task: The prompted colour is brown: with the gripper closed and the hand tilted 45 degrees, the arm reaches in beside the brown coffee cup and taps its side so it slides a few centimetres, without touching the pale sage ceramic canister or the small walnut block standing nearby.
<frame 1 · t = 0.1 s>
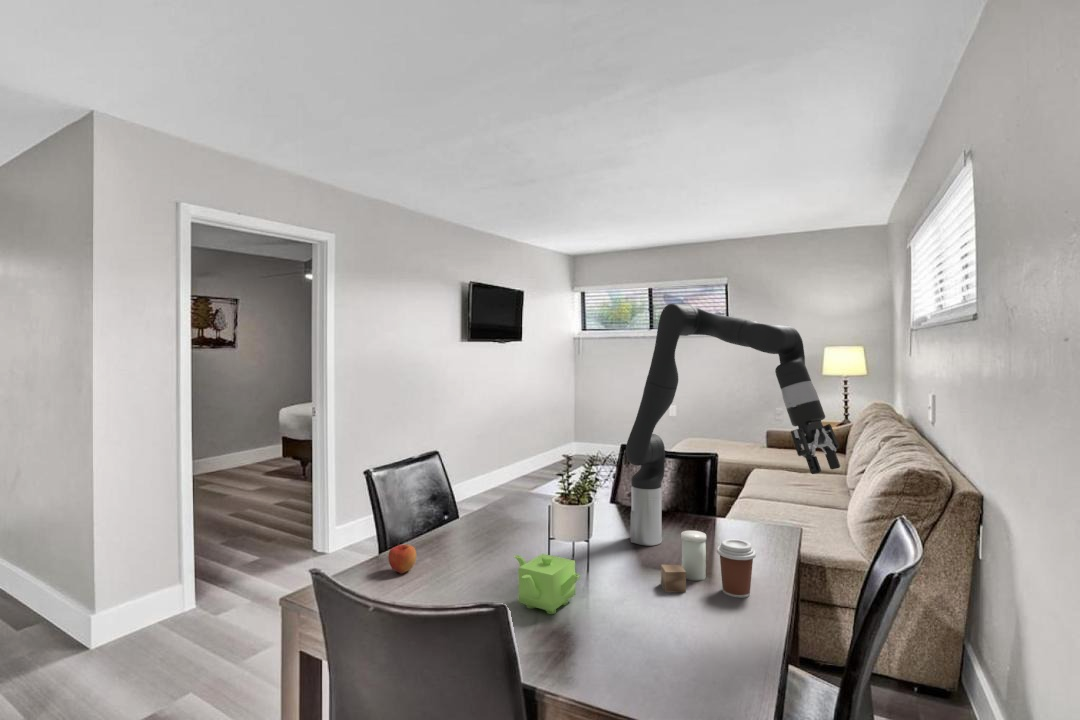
hand: (826, 471, 131), 31 cm above the table, tool tilted 20°, fingers open, 8 cm apart
coffee cup: (736, 592, 139), on the table
apple: (402, 572, 153), on the table
kettle: (544, 605, 133), on the table
canister: (693, 575, 150), on the table
walnut block: (673, 588, 142), on the table
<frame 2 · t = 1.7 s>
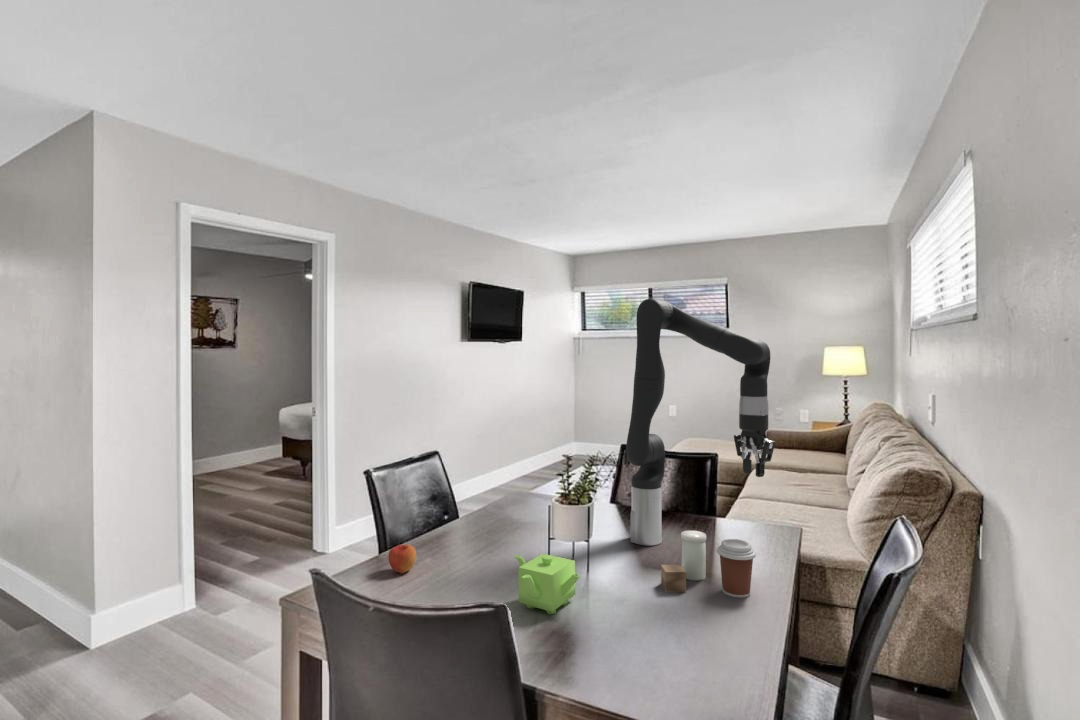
hand: (753, 474, 156), 25 cm above the table, tool pointing down, fingers open, 4 cm apart
nothing on the table moved.
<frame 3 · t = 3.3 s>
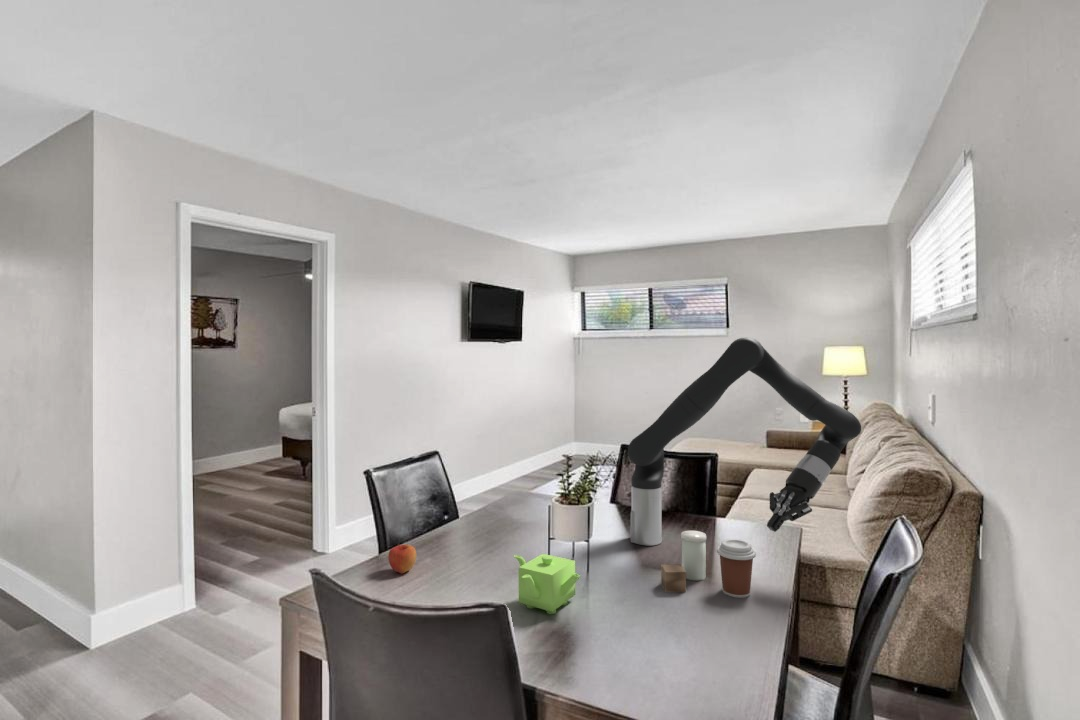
hand: (771, 529, 143), 14 cm above the table, tool tilted 45°, fingers closed
nothing on the table moved.
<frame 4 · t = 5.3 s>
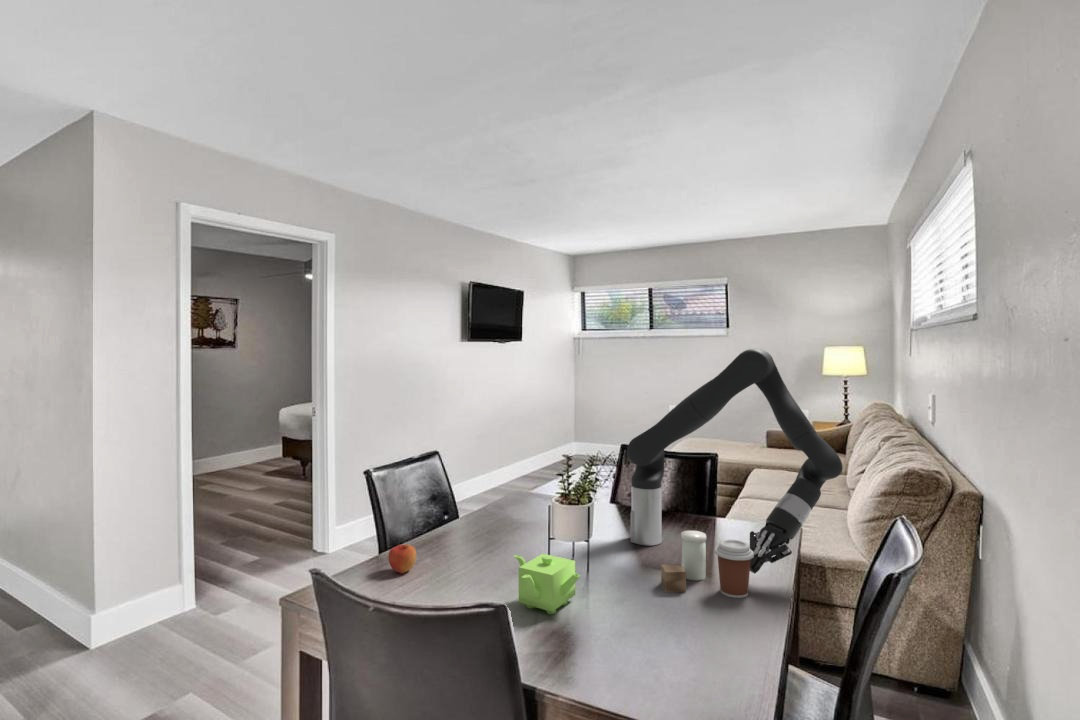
hand: (750, 570, 141), 5 cm above the table, tool tilted 45°, fingers closed
coffee cup: (734, 593, 139), on the table, touching gripper
everything else where it was.
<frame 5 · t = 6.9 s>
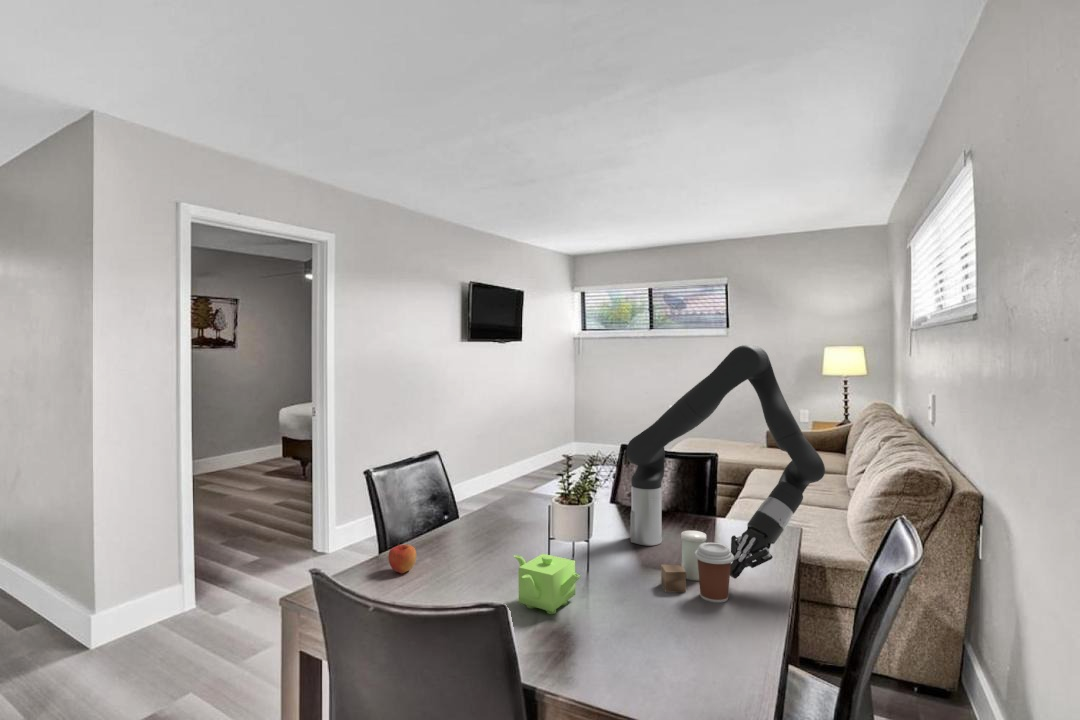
hand: (731, 575, 139), 4 cm above the table, tool tilted 45°, fingers closed
coffee cup: (714, 597, 137), on the table, touching gripper
everything else where it was.
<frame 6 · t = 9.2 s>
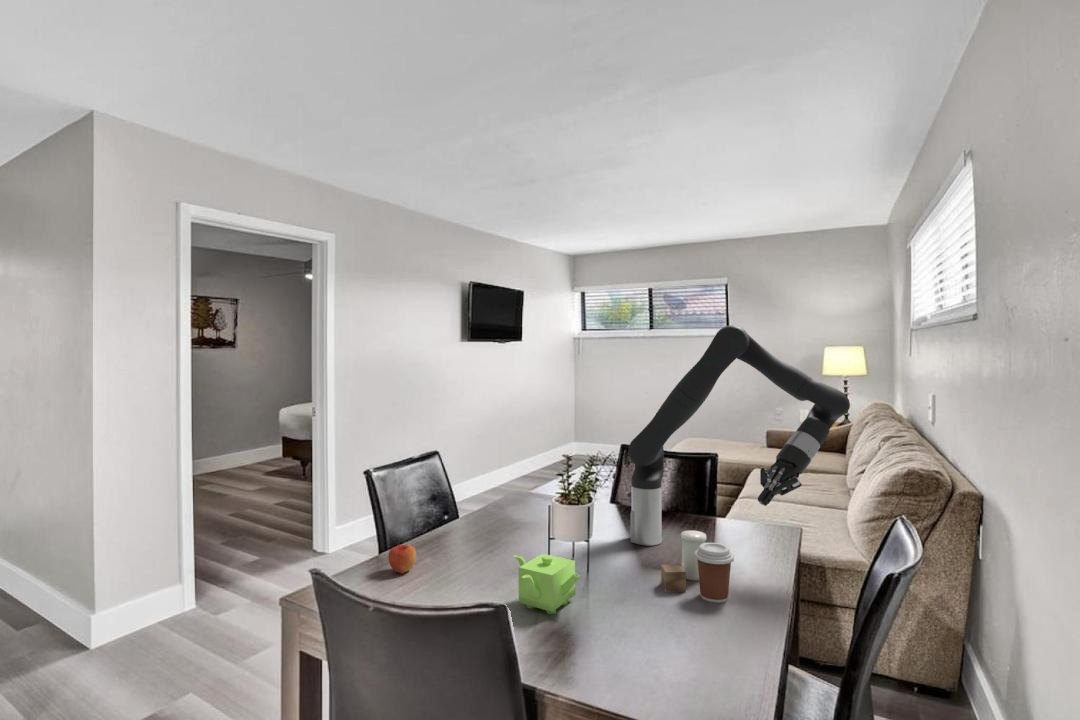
hand: (761, 503, 147), 20 cm above the table, tool tilted 45°, fingers closed
coffee cup: (714, 597, 137), on the table
everything else where it was.
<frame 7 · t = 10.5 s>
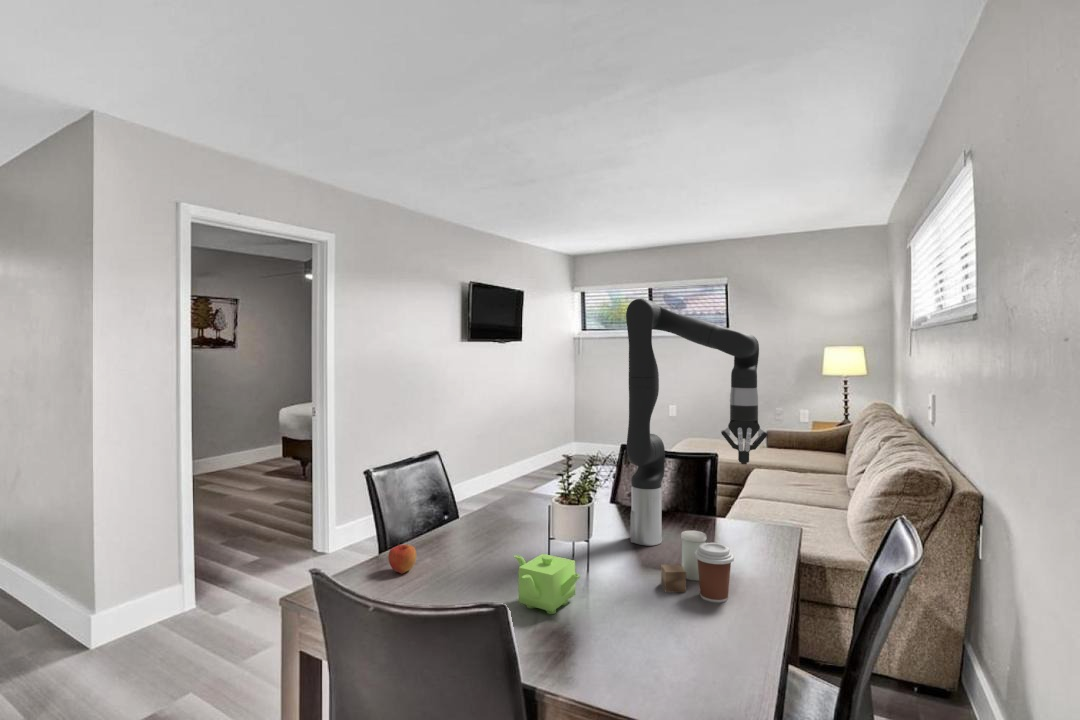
hand: (743, 463, 162), 27 cm above the table, tool pointing down, fingers closed
nothing on the table moved.
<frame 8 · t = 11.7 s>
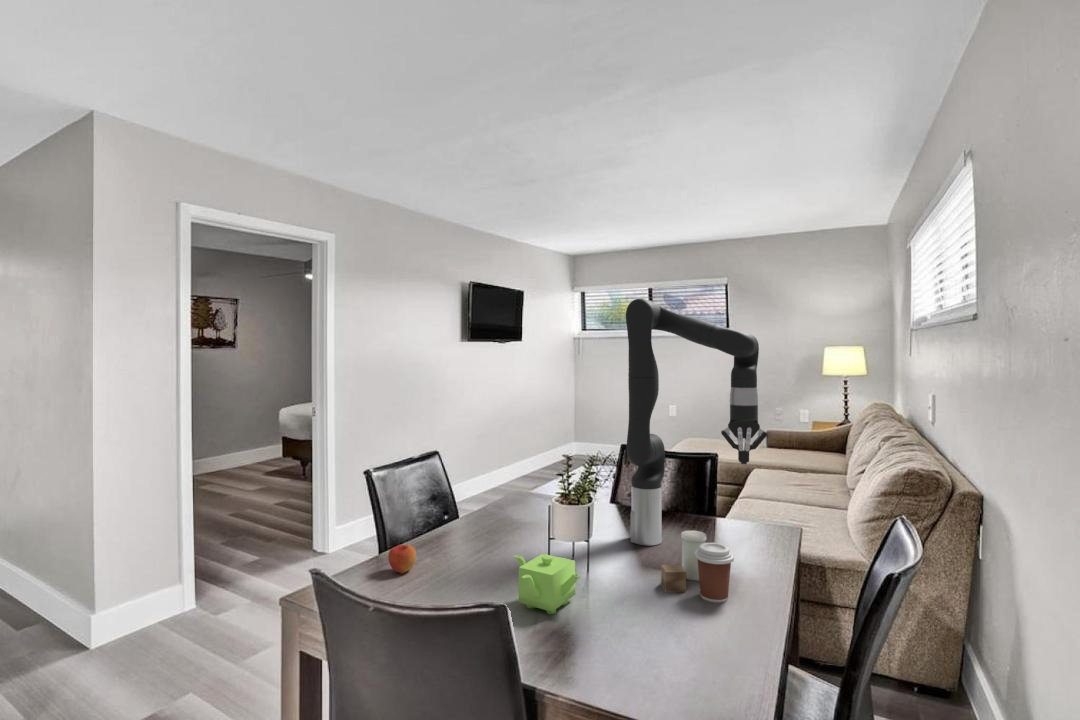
hand: (743, 463, 162), 27 cm above the table, tool pointing down, fingers closed
nothing on the table moved.
at the end: coffee cup moved 6.8 cm from its start; canister moved 0.0 cm from its start; walnut block moved 0.1 cm from its start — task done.
